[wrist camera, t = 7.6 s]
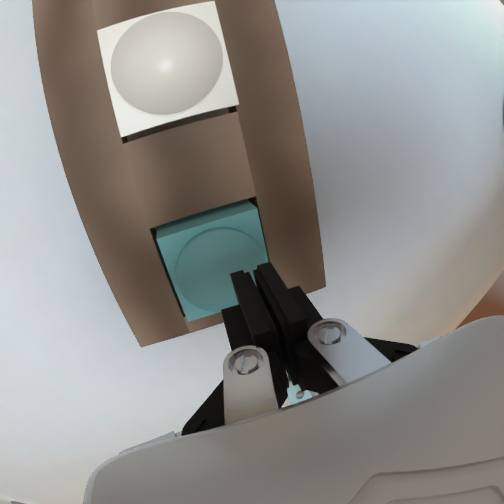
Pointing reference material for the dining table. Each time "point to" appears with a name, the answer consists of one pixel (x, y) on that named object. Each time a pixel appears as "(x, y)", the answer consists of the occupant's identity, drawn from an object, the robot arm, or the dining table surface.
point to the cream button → (167, 67)
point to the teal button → (211, 255)
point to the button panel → (179, 155)
